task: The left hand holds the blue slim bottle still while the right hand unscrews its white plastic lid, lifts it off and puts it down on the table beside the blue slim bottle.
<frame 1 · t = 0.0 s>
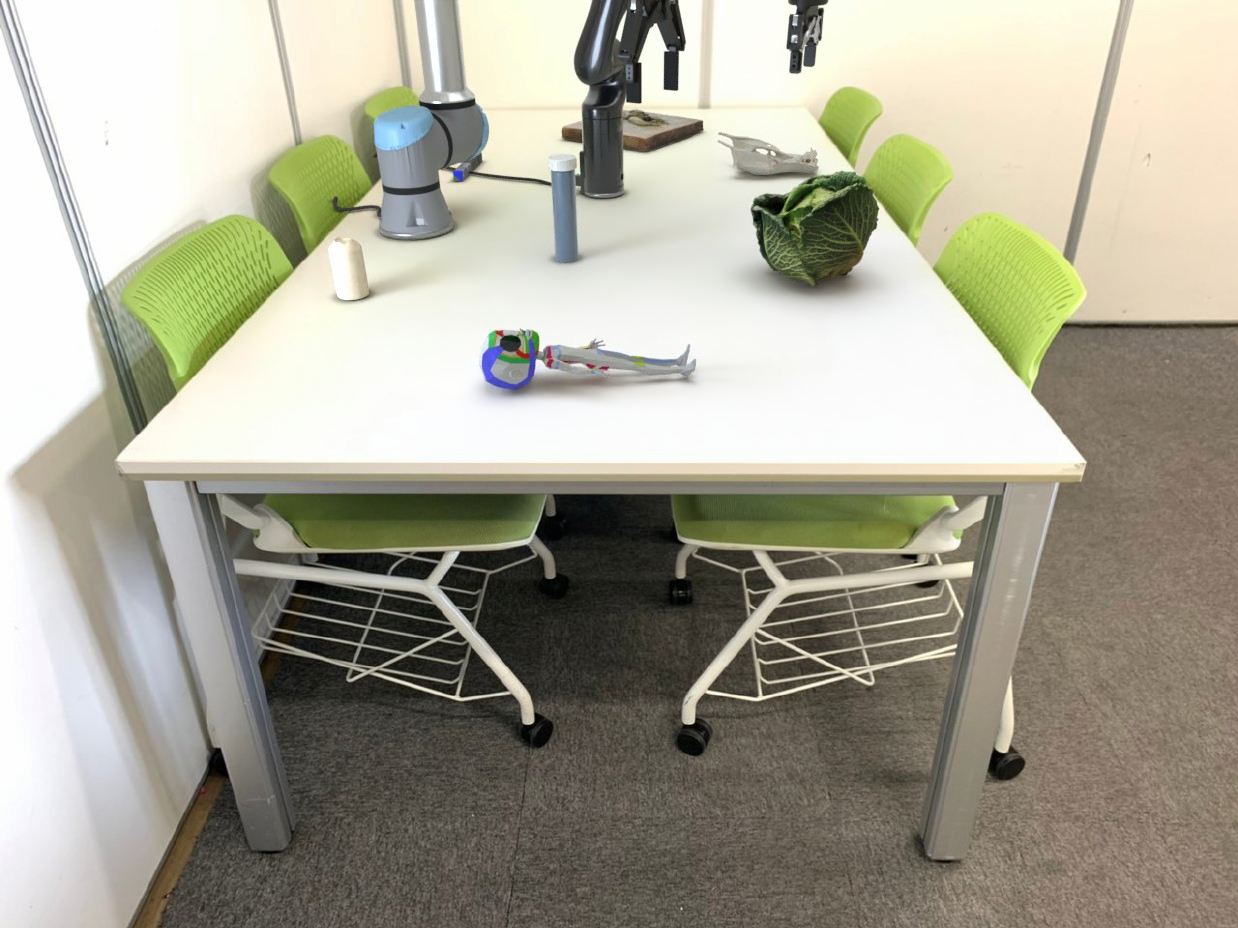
left hand: (652, 96, 161), 28 cm above the table, tool pointing down, fingers open, 13 cm apart
right hand: (802, 70, 176), 29 cm above the table, tool pointing down, fingers open, 8 cm apart
blue slim bottle: (567, 258, 172), on the table
lid: (562, 159, 162), point 19 cm above the table, screwed on, not yet turned
plaque: (633, 136, 259), on the table
candle: (353, 295, 157), on the table
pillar: (468, 171, 228), on the table
toy: (588, 379, 128), on the table
anatomical model: (766, 173, 223), on the table
vegetable: (810, 277, 161), on the table
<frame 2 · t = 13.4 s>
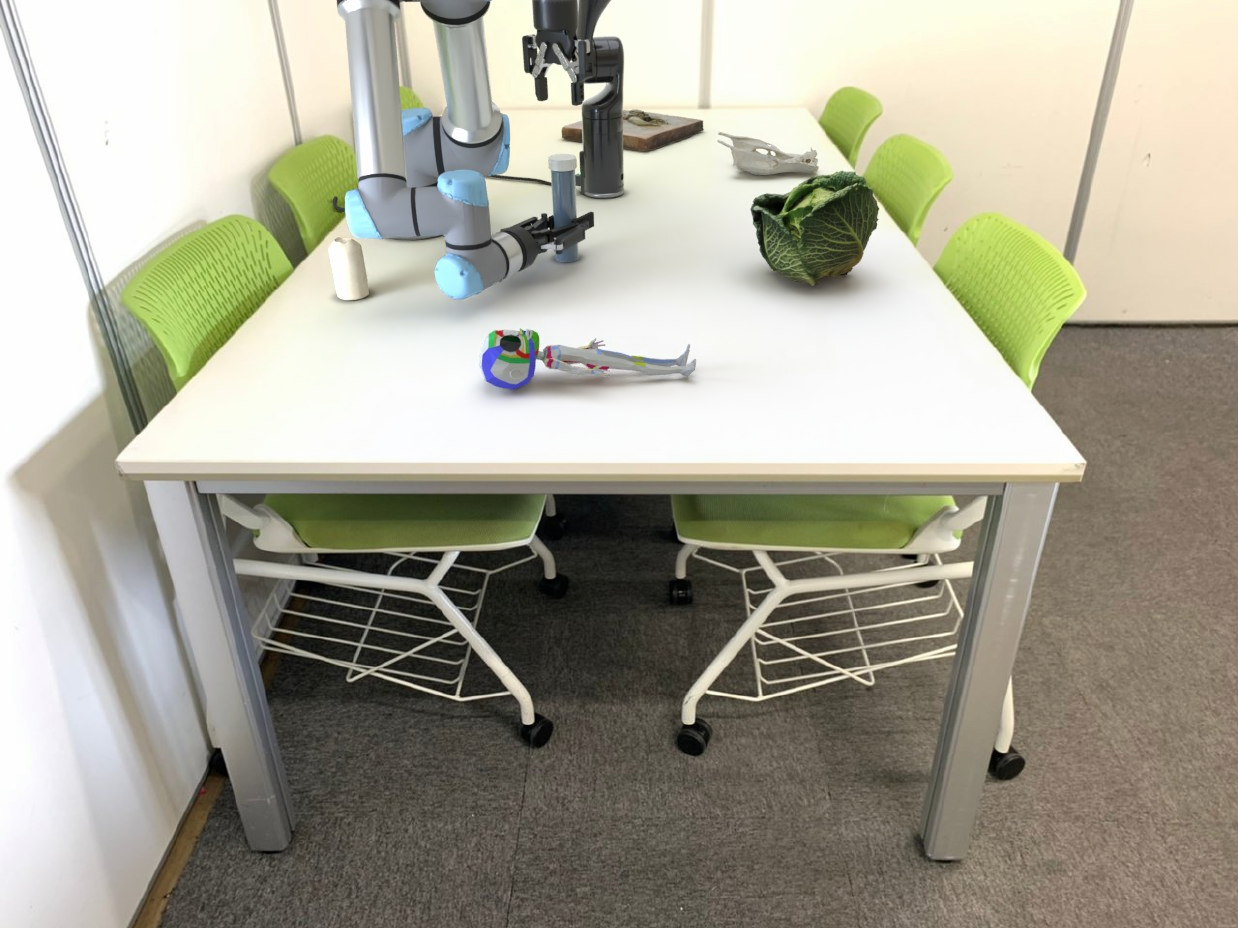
left hand: (580, 217, 172), 7 cm above the table, tool horizontal, fingers closed on blue slim bottle, 4 cm apart
right hand: (559, 102, 157), 28 cm above the table, tool pointing down, fingers open, 7 cm apart
blue slim bottle: (567, 258, 172), on the table, touching left hand
everything else where it was.
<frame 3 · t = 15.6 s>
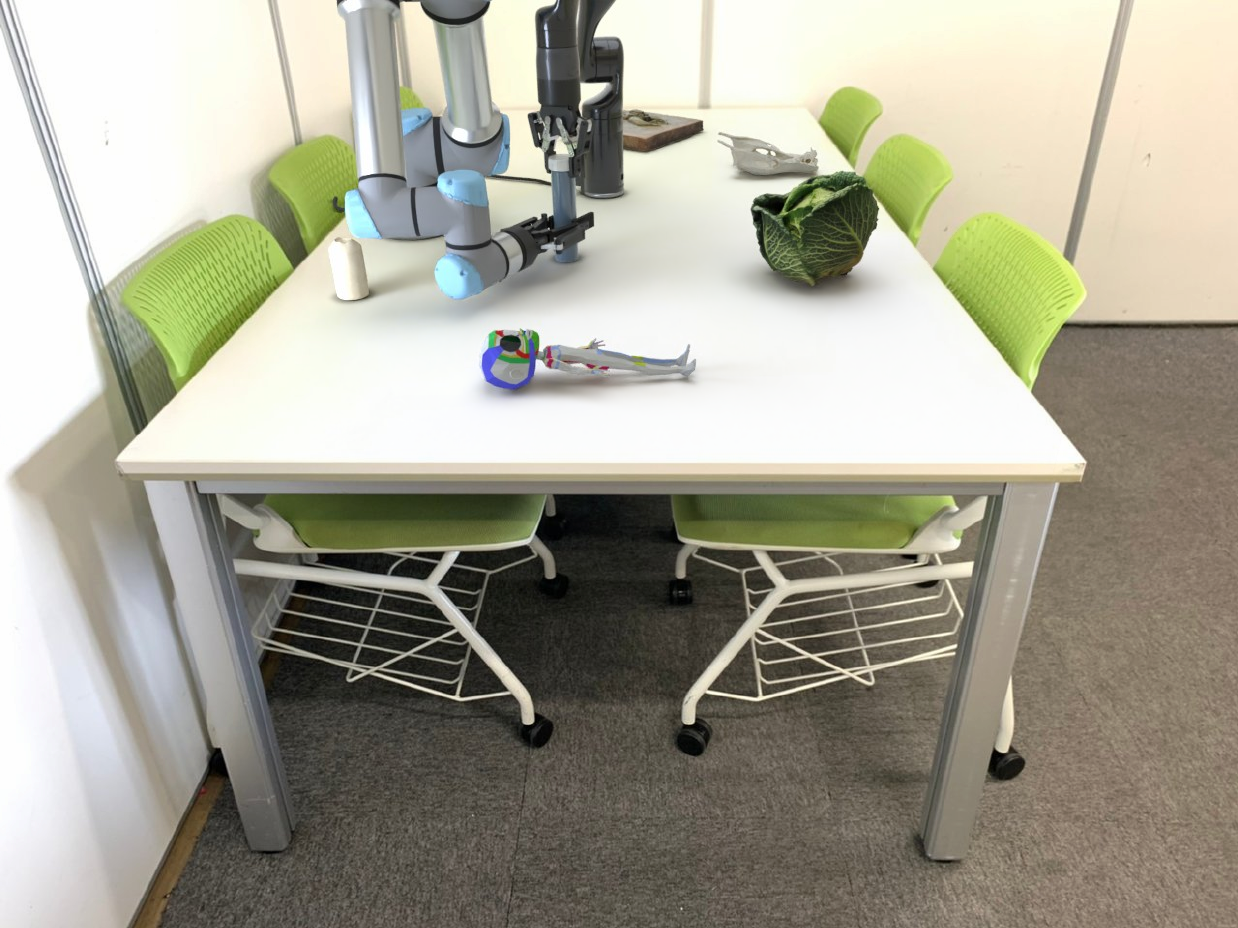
left hand: (580, 217, 172), 7 cm above the table, tool horizontal, fingers closed on blue slim bottle, 4 cm apart
right hand: (563, 174, 163), 16 cm above the table, tool pointing down, fingers closed on lid, 5 cm apart
blue slim bottle: (567, 258, 172), on the table, touching left hand
lid: (562, 159, 162), point 19 cm above the table, screwed on, not yet turned, touching right hand
everything else where it was.
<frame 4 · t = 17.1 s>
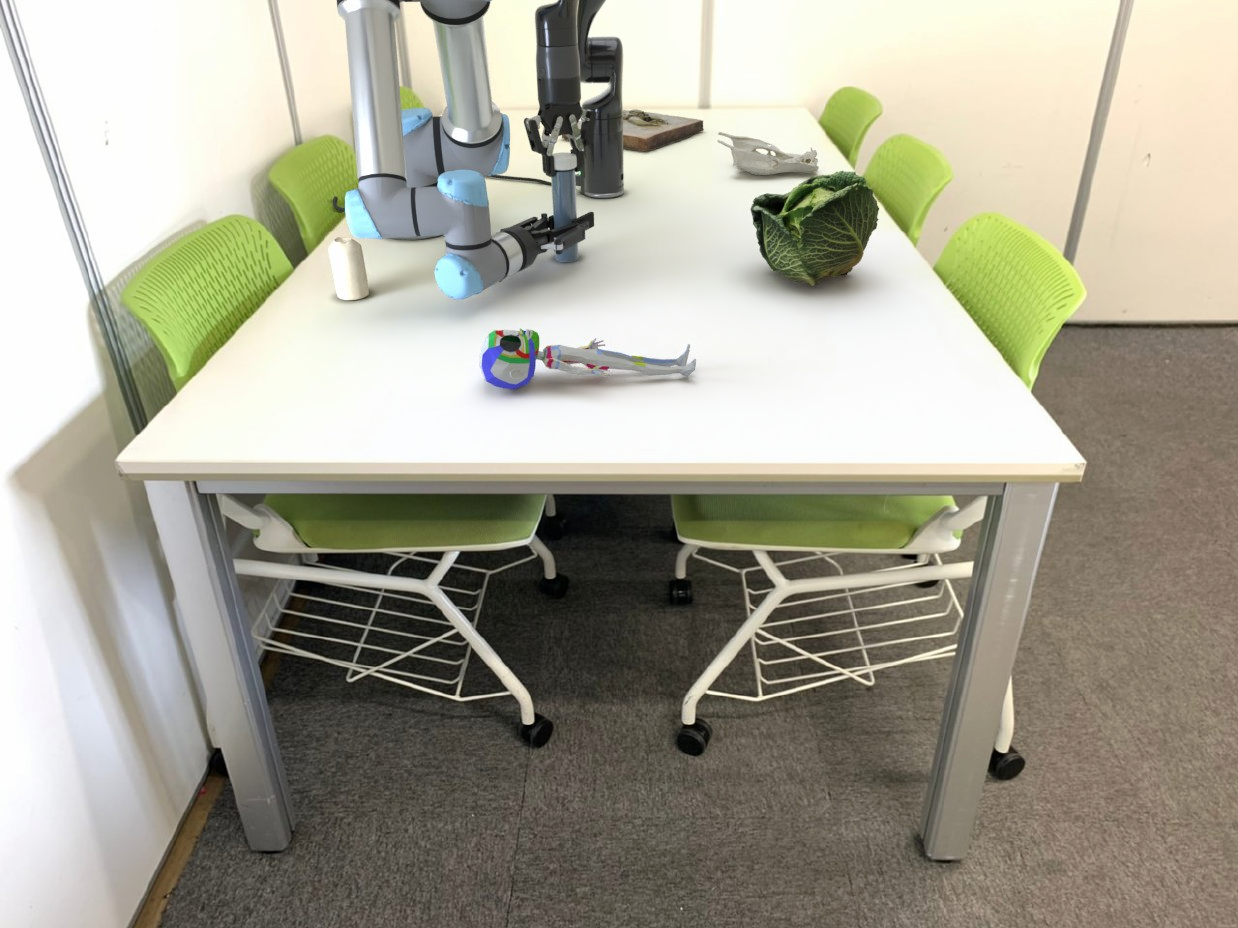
left hand: (580, 217, 172), 7 cm above the table, tool horizontal, fingers closed on blue slim bottle, 4 cm apart
right hand: (563, 173, 163), 16 cm above the table, tool pointing down, fingers closed on lid, 5 cm apart
blue slim bottle: (567, 258, 172), on the table, touching left hand
lid: (562, 157, 162), point 19 cm above the table, turned 71° so far, risen 0.2 cm, still on its thread, touching right hand
everything else where it was.
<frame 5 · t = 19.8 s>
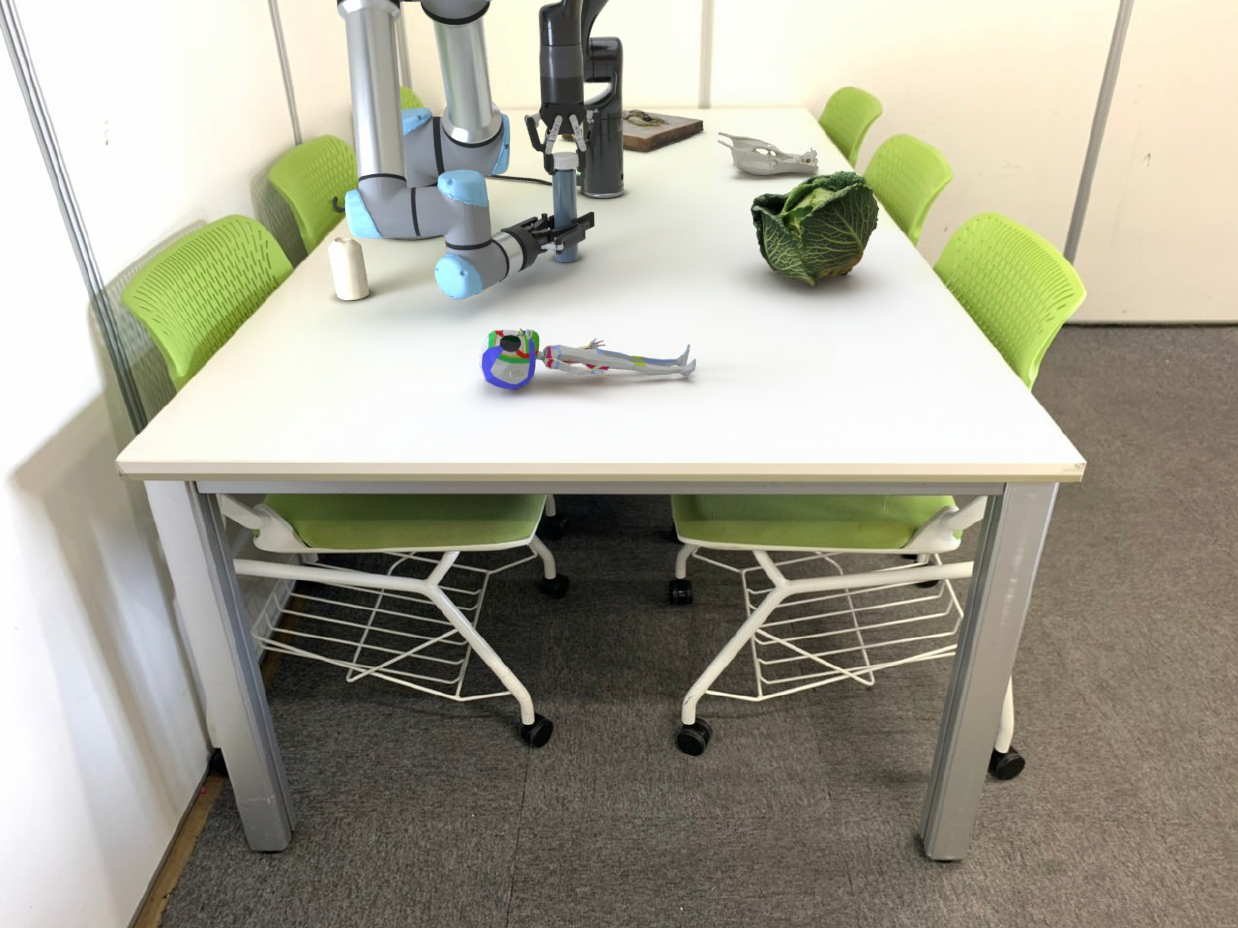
left hand: (581, 217, 172), 7 cm above the table, tool horizontal, fingers closed on blue slim bottle, 4 cm apart
right hand: (565, 172, 163), 16 cm above the table, tool pointing down, fingers closed on lid, 5 cm apart
blue slim bottle: (567, 258, 172), on the table, touching right hand, left hand
lid: (564, 157, 162), point 19 cm above the table, off its thread, touching right hand
everything else where it was.
when the right hand's fingers open (0 cm above the table, at t = 26.9 s): lid drops 2 cm, point 2 cm above the table.
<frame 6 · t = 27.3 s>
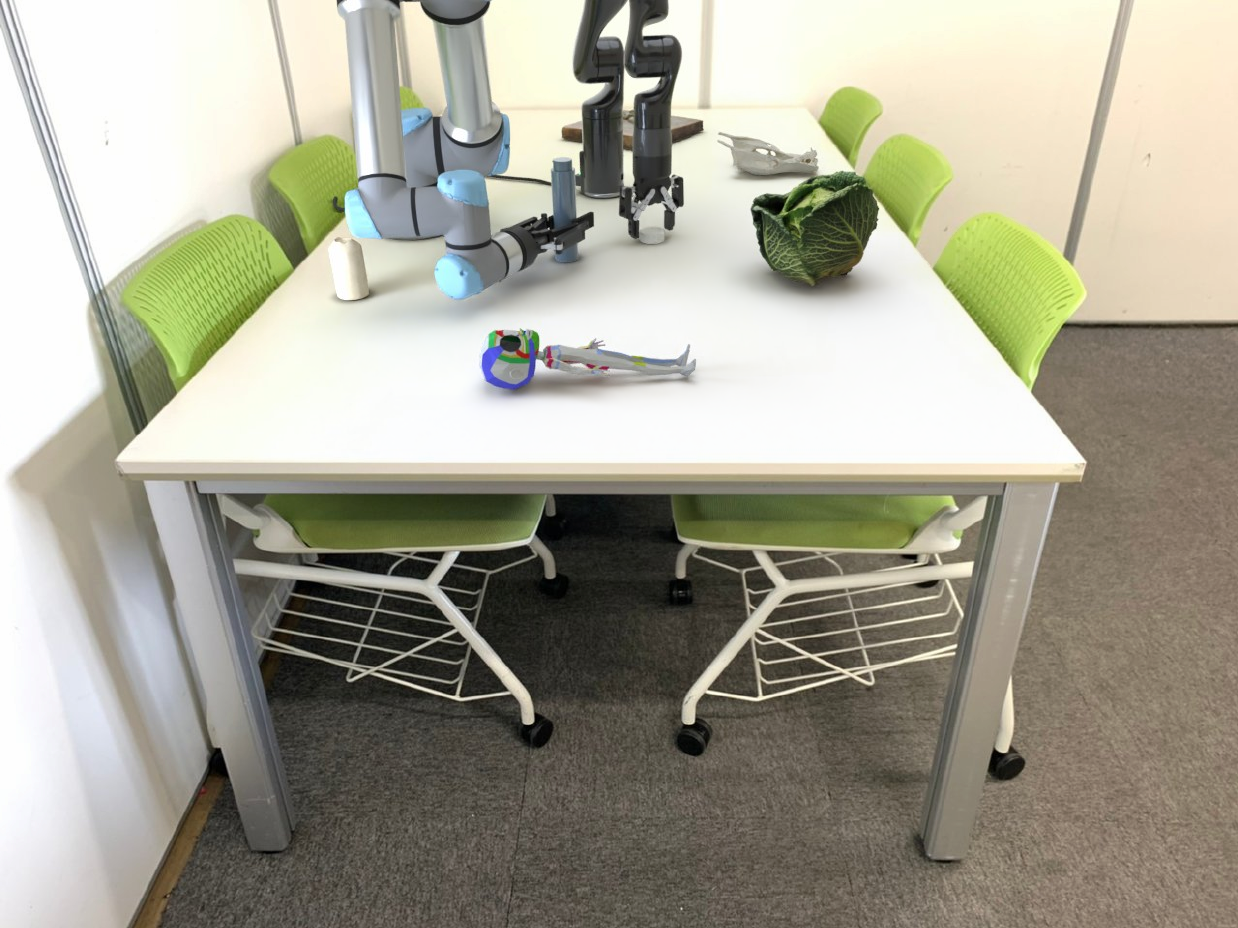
left hand: (580, 217, 172), 7 cm above the table, tool horizontal, fingers closed on blue slim bottle, 4 cm apart
right hand: (651, 233, 180), 1 cm above the table, tool pointing down, fingers open, 8 cm apart
blue slim bottle: (566, 258, 172), on the table, touching left hand
lid: (652, 232, 179), point 2 cm above the table, off its thread
everything else where it was.
when the left hand's fingers open (7 cm above the table, at t = 27.8 s): blue slim bottle stays where it is, on the table.
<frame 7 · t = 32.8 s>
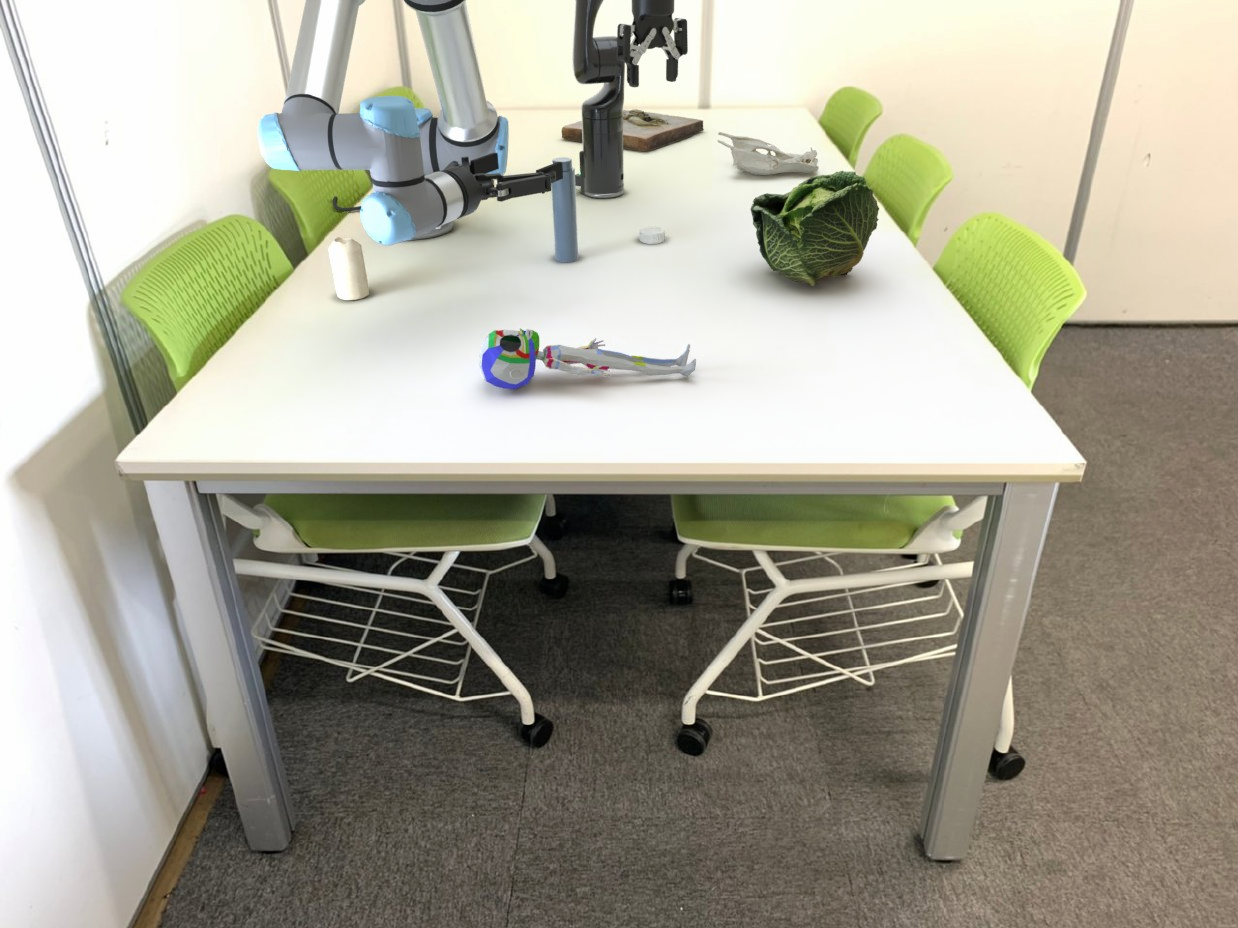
left hand: (528, 165, 154), 20 cm above the table, tool horizontal, fingers open, 13 cm apart
right hand: (652, 84, 165), 29 cm above the table, tool pointing down, fingers open, 8 cm apart
blue slim bottle: (566, 258, 172), on the table
everything else where it was.
at the end: lid came off its thread; lid point 1.6 cm above the table; the left hand is holding nothing; the right hand is holding nothing; blue slim bottle tilted 0°; blue slim bottle moved 0.0 cm from its start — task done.
